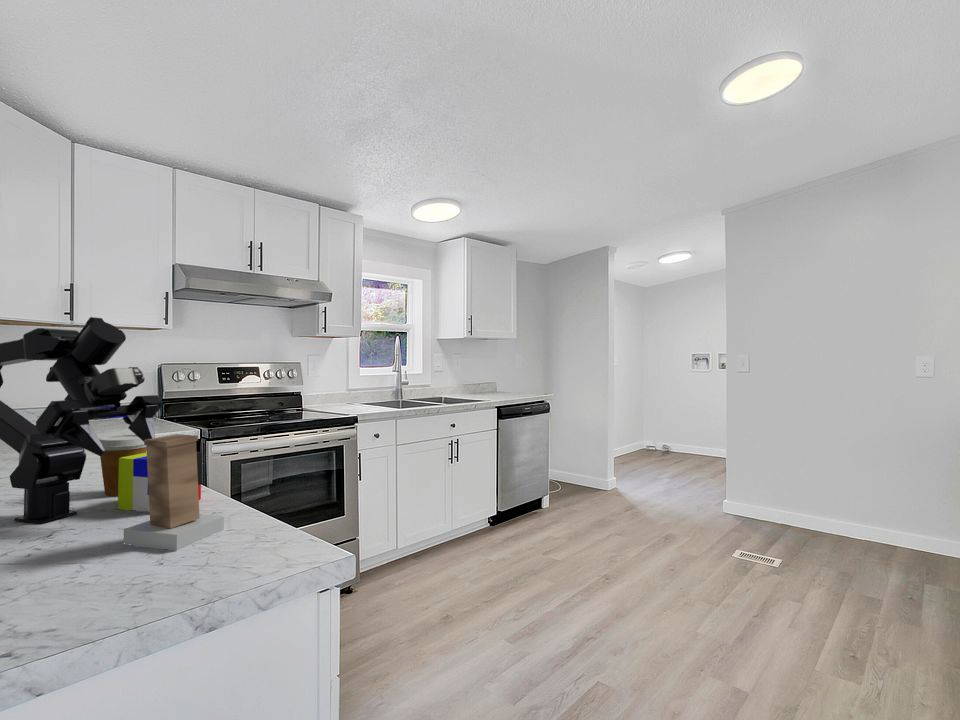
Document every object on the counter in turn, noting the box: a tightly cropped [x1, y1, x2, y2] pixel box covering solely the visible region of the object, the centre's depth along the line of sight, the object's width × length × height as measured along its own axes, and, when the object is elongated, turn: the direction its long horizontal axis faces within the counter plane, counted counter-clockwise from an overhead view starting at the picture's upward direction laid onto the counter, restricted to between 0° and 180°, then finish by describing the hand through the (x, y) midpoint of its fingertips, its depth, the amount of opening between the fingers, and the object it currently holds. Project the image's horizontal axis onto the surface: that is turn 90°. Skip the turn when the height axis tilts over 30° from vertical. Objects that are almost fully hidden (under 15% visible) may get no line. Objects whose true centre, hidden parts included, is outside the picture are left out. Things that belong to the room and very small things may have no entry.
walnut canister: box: [144, 433, 200, 528], centre depth 84 cm, size 5×5×14 cm
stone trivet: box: [123, 513, 225, 551], centre depth 84 cm, size 10×10×3 cm
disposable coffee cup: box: [98, 434, 147, 497], centre depth 111 cm, size 10×10×12 cm
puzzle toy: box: [117, 451, 203, 513], centre depth 103 cm, size 10×10×10 cm
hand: (129, 449), depth 88 cm, fingers open, 9 cm apart
